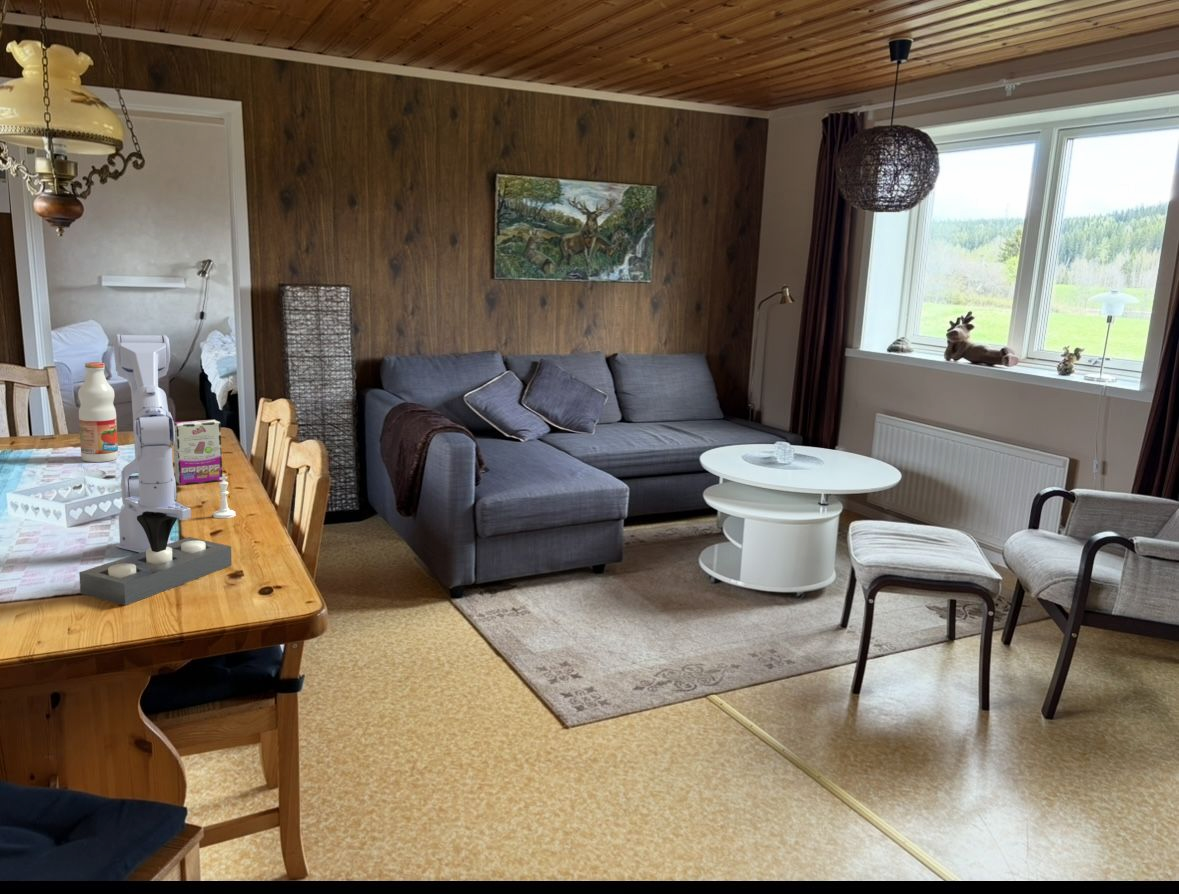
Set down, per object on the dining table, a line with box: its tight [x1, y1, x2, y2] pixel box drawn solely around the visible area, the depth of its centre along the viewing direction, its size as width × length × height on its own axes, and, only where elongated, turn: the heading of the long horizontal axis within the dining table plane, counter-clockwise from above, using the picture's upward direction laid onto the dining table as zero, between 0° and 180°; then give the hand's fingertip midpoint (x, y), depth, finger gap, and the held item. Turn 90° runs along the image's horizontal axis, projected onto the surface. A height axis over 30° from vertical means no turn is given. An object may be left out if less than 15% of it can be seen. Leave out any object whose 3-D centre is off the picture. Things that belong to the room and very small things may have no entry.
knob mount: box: [78, 536, 232, 606], centre depth 163 cm, size 11×24×4 cm, turn 158°
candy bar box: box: [173, 419, 223, 486], centre depth 232 cm, size 11×5×16 cm, turn 129°
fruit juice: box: [77, 361, 119, 463], centre depth 248 cm, size 9×9×28 cm
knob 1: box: [108, 563, 136, 578], centre depth 156 cm, size 4×4×4 cm
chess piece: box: [213, 473, 237, 520], centre depth 204 cm, size 5×5×10 cm
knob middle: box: [146, 547, 172, 565], centre depth 163 cm, size 4×4×4 cm
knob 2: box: [181, 541, 206, 553], centre depth 170 cm, size 4×4×4 cm
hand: (159, 550), depth 162 cm, fingers closed, pressing on knob middle
